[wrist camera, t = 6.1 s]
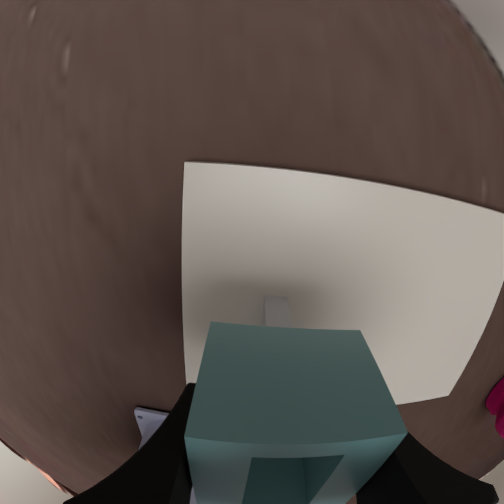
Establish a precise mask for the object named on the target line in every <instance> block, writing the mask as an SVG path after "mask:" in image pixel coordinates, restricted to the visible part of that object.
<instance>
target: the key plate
mask: <svg viewBox="0 0 504 504" xmlns="http://www.w3.org/2000/svg"><path fill="white" fill-rule="evenodd" d="M503 281H504V213H503V212H499V211H496V210H493V209H490V208H486V207H483V206H479V205H476V204H472V203H468V202H465V201H461V200H457V199H453V198H449V197H445V196H441V195H437V194H433V193H429V192H424V191H420V190H415V189H411V188H406V187H401V186H396V185H391V184H386V183H381V182H375V181H370V180H364V179H358V178H352V177H346V176H340V175H333V174H326V173H319V172H312V171H304V170H296V169H287V168H278V167H268V166H258V165H246V164H234V163H219V162H201V161H188V162H185V164H184V183H183V209H182V312H183V338H184V356H185V372H186V385H187V384H188V383H190V382H191V383H196V381H197V377H198V373H199V369H200V364H201V360H202V356H203V352H204V347H205V343H206V339H207V335H208V331H209V327H210V322H211V321H212V322H221V323H232V324H243V325H256V326H269V327H285V328H304V329H330V330H360V331H361V333H362V335H363V337H364V339H365V341H366V343H367V345H368V347H369V349H370V351H371V353H372V355H373V357H374V359H375V361H376V363H377V365H378V367H379V369H380V371H381V374H382V376H383V378H384V380H385V382H386V384H387V386H388V389H389V391H390V393H391V395H392V397H393V400H394V402H395V404H396V405H397V404H404V403H411V402H417V401H423V400H428V399H433V398H438V397H443V396H448V395H449V393H450V392H451V390H452V389H453V387H454V385H455V384H456V382H457V380H458V379H459V377H460V375H461V374H462V372H463V370H464V368H465V366H466V365H467V363H468V361H469V359H470V357H471V355H472V353H473V351H474V349H475V348H476V346H477V343H478V341H479V339H480V337H481V335H482V333H483V331H484V329H485V327H486V324H487V322H488V320H489V317H490V315H491V313H492V310H493V308H494V305H495V303H496V300H497V298H498V295H499V292H500V289H501V287H502V284H503Z"/></svg>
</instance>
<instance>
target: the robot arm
mask: <svg viewBox="0 0 504 504" xmlns="http://www.w3.org/2000/svg"><path fill="white" fill-rule="evenodd" d="M195 386H196V383H191V382H190V383H188V384H187V385H186V387H185V389H184V391H183V393H182V394H181V396H180V398H179V399H178V401H177V403H176V404H175V406H174V407H173V409H172V410H171V412H170V413H165V412H159V411H154V410H149V409H145V408H140V407H137V408H135V410H134V414H135V417H136V420H137V423H138V426H139V429H140V432H141V435H142V440H141V443H140V446H139V449H138V451H137V452H136V453H135V454H134V455H133V456H132V457H131V458H130V459H129V460H128V461H126V462H125V463H124V464H123V465H122V466H121V467H119V468H118V469H117V470H116V471H114V472H113V473H112V474H110V475H109V476H108V477H106V478H105V479H103V480H102V481H100V482H99V483H97V484H96V485H94V486H93V487H91V488H90V489H88V490H86V491H84V492H82V493H80V494H79V495H77V496H75V497H73V498H71V499H69V500H67V501H65V502H64V503H63V504H197V503H196V499H195V494H194V489H193V484H192V479H191V474H190V468H189V463H188V457H187V451H186V445H185V439H184V435H185V431H186V426H187V421H188V417H189V412H190V408H191V403H192V399H193V395H194V390H195ZM407 432H408V431H407ZM356 498H357V504H496V503H498V501H499V498H498V496H497V493H496V491H495V489H494V486H493V485H491V484H488V483H486V482H483V481H480V480H477V479H475V478H472V477H470V476H468V475H466V474H464V473H462V472H460V471H458V470H457V469H455V468H453V467H451V466H450V465H448V464H447V463H445V462H444V461H442V460H441V459H439V458H438V457H436V456H435V455H434V454H433V453H431V452H430V451H429V450H427V449H426V448H425V447H424V446H423V445H421V444H420V443H419V442H418V441H417V440H416V439H415V438H414V437H413V436H412V435H411V434H410V433H409V432H408V433H407V434H406V436H405V437H404V438H403V440H402V441H401V442H400V444H399V445H398V446H397V448H396V449H395V450H394V451H393V453H392V454H391V455H390V456H389V457H388V459H387V460H386V461H385V462H384V463H383V465H382V466H381V467H380V468H379V469H378V470H377V471H376V472H375V474H374V475H373V476H372V477H371V478H370V479H369V480H368V481H367V482H366V483H365V484H364V485H363V486H362V488H361V489H360V490H359V491H358V492H357V493H356Z"/></svg>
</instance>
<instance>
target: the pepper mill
mask: <svg viewBox="0 0 504 504" xmlns="http://www.w3.org/2000/svg"><path fill="white" fill-rule="evenodd" d="M486 407H487V409H488V410H489V412H490V413H491V414H492V415H497V417H496V422H495V428H496V431H497V432H498V433H499V435H500V436H501V437H502V438H504V377H503V378H502V379H501V380H500V381H499V382H498V383H497V385H496V386H495V387H494V388H493V390H492V391H491V392H490V394H489V396H488V398H487V400H486Z"/></svg>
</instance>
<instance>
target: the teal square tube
mask: <svg viewBox="0 0 504 504" xmlns="http://www.w3.org/2000/svg"><path fill="white" fill-rule="evenodd" d="M407 433H408V432H407V429H406V427H405V425H404V422H403V420H402V418H401V415H400V413H399V411H398V409H397V406H396V404H395V402H394V400H393V397H392V395H391V393H390V391H389V389H388V386H387V384H386V382H385V380H384V378H383V376H382V374H381V371H380V369H379V367H378V365H377V363H376V361H375V359H374V357H373V355H372V353H371V351H370V349H369V347H368V345H367V343H366V341H365V339H364V337H363V335H362V333H361V331H360V330H330V329H304V328H285V327H269V326H256V325H243V324H232V323H221V322H212V321H211V322H210V327H209V331H208V335H207V339H206V343H205V347H204V352H203V356H202V360H201V364H200V369H199V373H198V377H197V381H196V386H195V390H194V395H193V399H192V403H191V408H190V412H189V417H188V421H187V426H186V431H185V435H184V439H185V445H186V451H187V457H188V463H189V468H190V474H191V479H192V484H193V489H194V494H195V499H196V503H197V504H345V503H346V502H347V501H349V500H350V499H351V498H352V497H353V496H354V495H355V494H356V493H357V492H358V491H359V490H360V489H361V488H362V486H363V485H364V484H365V483H366V482H367V481H368V480H369V479H370V478H371V477H372V476H373V475H374V474H375V472H376V471H377V470H378V469H379V468H380V467H381V466H382V465H383V463H384V462H385V461H386V460H387V459H388V457H389V456H390V455H391V454H392V453H393V451H394V450H395V449H396V448H397V446H398V445H399V444H400V442H401V441H402V440H403V438H404V437H405V436H406V434H407Z"/></svg>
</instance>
